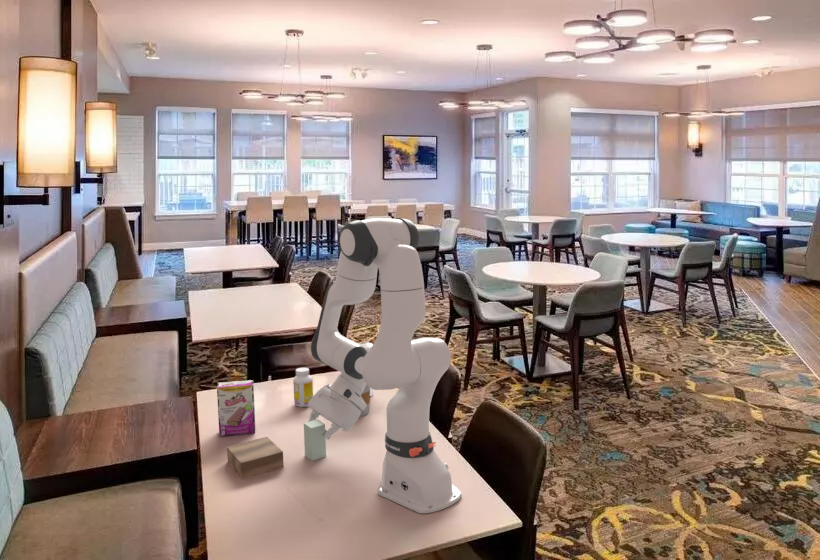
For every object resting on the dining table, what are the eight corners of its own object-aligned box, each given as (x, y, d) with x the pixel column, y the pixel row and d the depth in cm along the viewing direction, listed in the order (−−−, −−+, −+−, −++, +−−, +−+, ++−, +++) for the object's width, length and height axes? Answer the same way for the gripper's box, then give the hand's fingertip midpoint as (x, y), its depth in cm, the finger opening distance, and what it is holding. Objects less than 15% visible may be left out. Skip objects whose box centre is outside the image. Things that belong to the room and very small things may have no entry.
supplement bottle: (315, 401, 228) (314, 366, 226) (310, 408, 222) (309, 372, 219) (297, 400, 229) (295, 366, 226) (292, 407, 222) (290, 372, 220)
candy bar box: (219, 437, 198) (216, 387, 195) (220, 431, 203) (216, 382, 200) (256, 433, 201) (253, 384, 198) (255, 427, 206) (253, 379, 203)
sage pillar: (326, 456, 185) (325, 424, 183) (312, 460, 182) (311, 428, 180) (318, 451, 188) (317, 419, 187) (304, 455, 186) (303, 423, 184)
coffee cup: (376, 412, 217) (376, 370, 214) (357, 419, 211) (356, 376, 208) (361, 406, 223) (360, 365, 220) (342, 412, 217) (341, 370, 214)
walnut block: (283, 468, 179) (282, 451, 178) (242, 480, 172) (241, 463, 171) (267, 452, 189) (267, 436, 188) (227, 463, 182) (226, 446, 181)
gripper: (320, 377, 195) (292, 415, 191) (356, 396, 179) (327, 438, 175) (333, 388, 199) (306, 425, 195) (370, 407, 183) (341, 449, 179)
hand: (316, 431), depth 185 cm, fingers open, 8 cm apart
